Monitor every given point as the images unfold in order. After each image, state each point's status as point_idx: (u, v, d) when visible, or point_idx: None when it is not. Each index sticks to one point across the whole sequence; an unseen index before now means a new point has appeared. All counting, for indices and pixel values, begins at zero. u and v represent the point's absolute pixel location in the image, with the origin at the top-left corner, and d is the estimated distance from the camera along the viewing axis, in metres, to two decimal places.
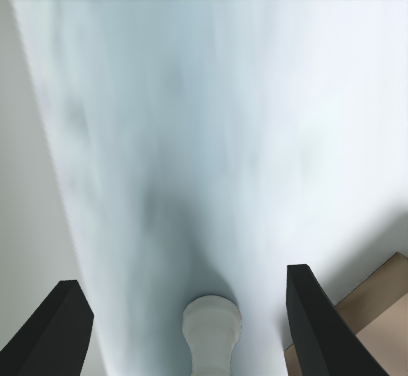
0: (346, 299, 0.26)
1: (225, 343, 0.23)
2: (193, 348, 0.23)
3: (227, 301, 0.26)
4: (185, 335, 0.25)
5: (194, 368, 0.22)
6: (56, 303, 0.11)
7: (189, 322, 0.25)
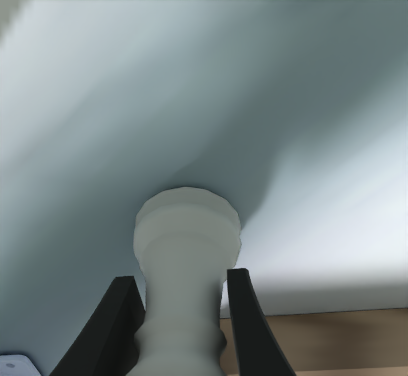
0: (339, 315, 0.18)
1: (222, 289, 0.12)
2: (170, 265, 0.12)
3: (238, 225, 0.14)
4: (149, 229, 0.13)
5: (171, 306, 0.10)
6: (117, 299, 0.11)
7: (179, 217, 0.12)
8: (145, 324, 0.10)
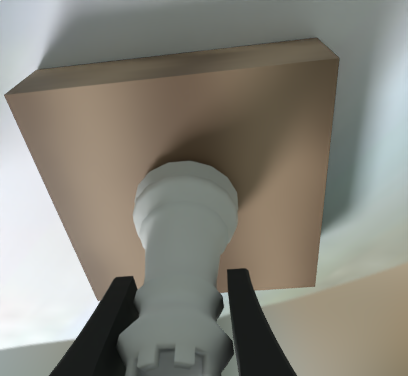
0: (196, 52, 0.15)
1: (218, 260, 0.13)
2: (174, 230, 0.12)
3: (236, 205, 0.15)
4: (153, 197, 0.13)
5: (174, 267, 0.11)
6: (117, 299, 0.11)
7: (184, 188, 0.13)
8: (149, 281, 0.10)
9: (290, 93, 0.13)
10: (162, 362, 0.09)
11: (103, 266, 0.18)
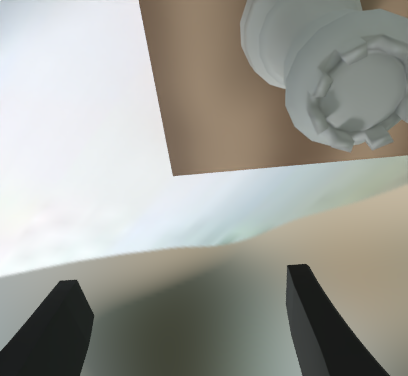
0: None
1: None
2: (317, 1, 0.10)
3: None
4: None
5: None
6: (56, 303, 0.11)
7: None
8: (313, 21, 0.09)
9: None
10: (359, 69, 0.07)
11: (187, 125, 0.17)
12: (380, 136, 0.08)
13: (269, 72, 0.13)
